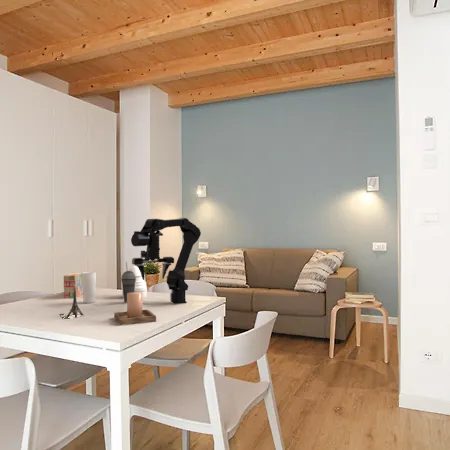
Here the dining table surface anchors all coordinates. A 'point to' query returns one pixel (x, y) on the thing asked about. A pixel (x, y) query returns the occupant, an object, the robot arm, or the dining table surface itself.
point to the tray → (123, 320)
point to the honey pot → (138, 282)
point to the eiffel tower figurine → (73, 307)
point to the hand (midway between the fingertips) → (153, 279)
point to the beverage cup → (128, 283)
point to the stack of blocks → (73, 285)
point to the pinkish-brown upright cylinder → (134, 304)
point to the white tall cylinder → (88, 286)
